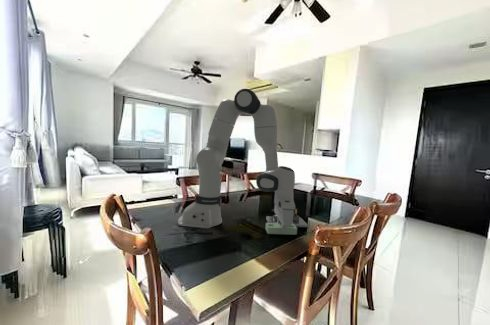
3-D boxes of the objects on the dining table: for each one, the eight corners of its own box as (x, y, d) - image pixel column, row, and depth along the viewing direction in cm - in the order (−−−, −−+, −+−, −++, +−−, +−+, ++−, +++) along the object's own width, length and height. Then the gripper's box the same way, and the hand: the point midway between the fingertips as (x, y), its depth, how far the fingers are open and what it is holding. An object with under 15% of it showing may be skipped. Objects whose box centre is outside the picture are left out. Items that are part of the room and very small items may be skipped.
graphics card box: (280, 214, 135) (284, 170, 133) (269, 213, 137) (272, 169, 134) (282, 206, 152) (285, 167, 149) (271, 205, 153) (274, 166, 151)
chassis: (270, 226, 115) (271, 211, 114) (266, 218, 126) (267, 205, 125) (307, 227, 117) (308, 212, 116) (300, 219, 128) (301, 206, 127)
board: (267, 233, 104) (268, 227, 104) (265, 228, 110) (265, 222, 110) (296, 234, 106) (297, 228, 105) (292, 229, 112) (293, 223, 111)
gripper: (272, 194, 116) (270, 220, 118) (282, 206, 96) (279, 237, 98) (284, 195, 117) (281, 220, 118) (296, 207, 97) (293, 237, 98)
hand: (281, 228), depth 108 cm, fingers closed on board, 6 cm apart
